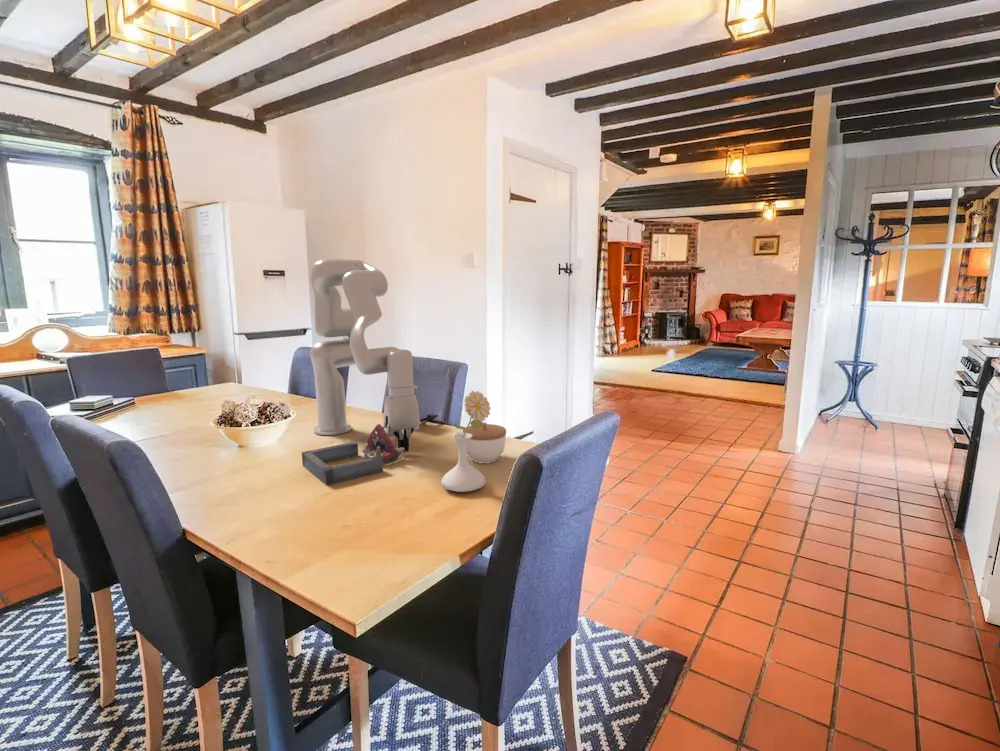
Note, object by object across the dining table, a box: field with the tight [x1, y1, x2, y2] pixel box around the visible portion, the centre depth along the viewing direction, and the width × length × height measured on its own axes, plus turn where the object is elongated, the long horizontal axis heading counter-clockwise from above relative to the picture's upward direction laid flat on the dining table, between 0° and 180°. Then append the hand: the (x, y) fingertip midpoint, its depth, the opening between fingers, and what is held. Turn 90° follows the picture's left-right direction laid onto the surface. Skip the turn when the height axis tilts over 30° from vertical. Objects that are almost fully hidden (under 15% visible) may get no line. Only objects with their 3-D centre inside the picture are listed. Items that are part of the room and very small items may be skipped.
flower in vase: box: [440, 390, 491, 493], centre depth 136 cm, size 13×11×25 cm
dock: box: [301, 441, 384, 486], centre depth 152 cm, size 19×16×4 cm
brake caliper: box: [362, 423, 406, 467], centre depth 159 cm, size 11×11×12 cm
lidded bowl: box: [462, 422, 507, 464], centre depth 158 cm, size 13×13×11 cm
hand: (403, 450), depth 163 cm, fingers closed
